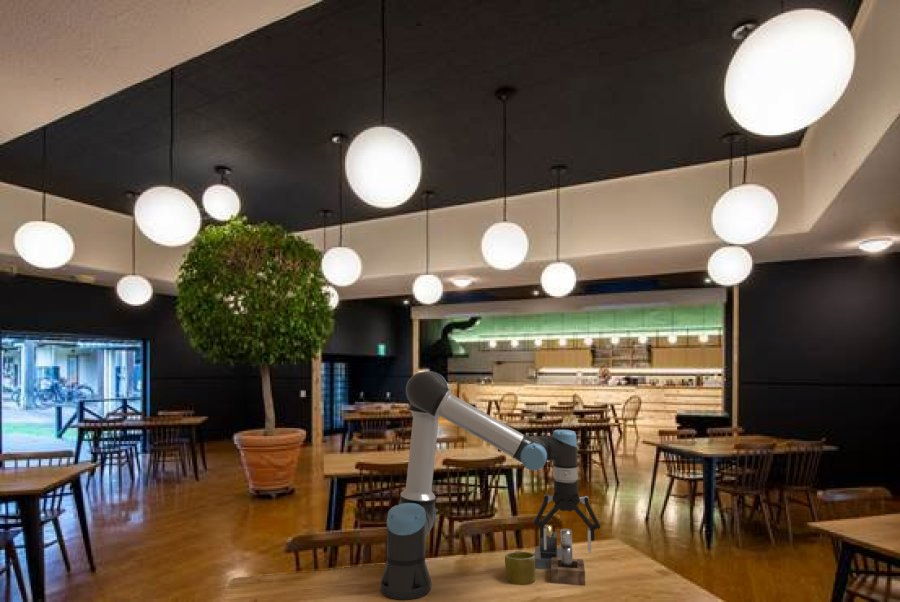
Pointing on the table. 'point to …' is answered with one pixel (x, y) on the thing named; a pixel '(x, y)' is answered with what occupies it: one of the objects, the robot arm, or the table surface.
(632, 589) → the table surface
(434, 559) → the table surface
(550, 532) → the yellow capsule
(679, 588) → the table surface
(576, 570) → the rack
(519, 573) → the mug
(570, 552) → the brushed metal rod
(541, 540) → the block
